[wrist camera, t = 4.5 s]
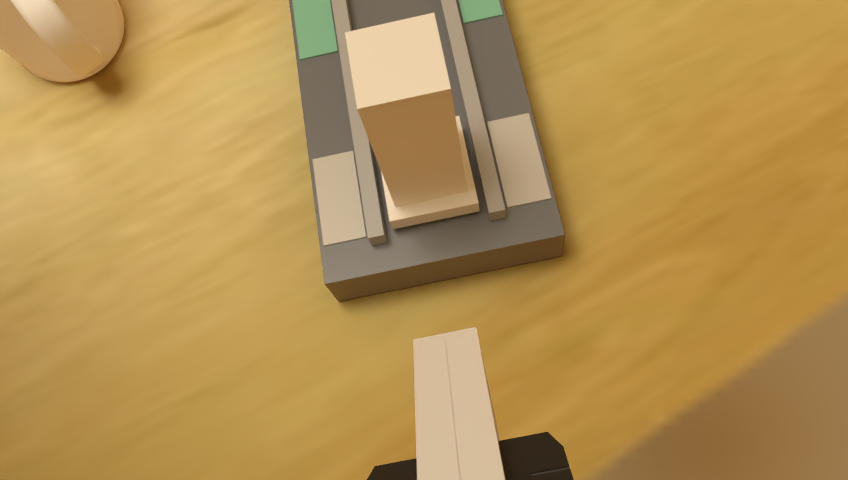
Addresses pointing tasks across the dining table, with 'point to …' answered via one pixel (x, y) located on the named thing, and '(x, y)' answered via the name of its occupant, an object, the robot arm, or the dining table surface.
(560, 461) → the robot arm
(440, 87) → the slider tab
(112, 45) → the mug
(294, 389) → the dining table surface
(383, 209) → the switch panel
